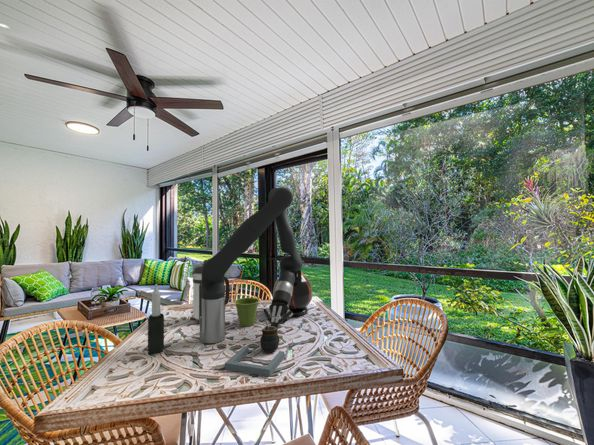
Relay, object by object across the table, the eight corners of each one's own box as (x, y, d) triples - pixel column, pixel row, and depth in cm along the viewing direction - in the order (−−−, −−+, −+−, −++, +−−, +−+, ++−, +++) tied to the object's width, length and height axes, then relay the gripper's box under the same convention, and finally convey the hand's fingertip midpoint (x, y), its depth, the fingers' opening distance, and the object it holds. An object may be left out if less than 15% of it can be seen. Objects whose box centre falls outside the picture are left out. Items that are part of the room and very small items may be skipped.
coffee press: (214, 325, 132) (214, 261, 133) (184, 323, 135) (183, 261, 136) (230, 314, 149) (229, 258, 150) (202, 313, 152) (202, 257, 153)
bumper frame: (224, 369, 91) (224, 362, 91) (244, 352, 103) (244, 346, 103) (269, 376, 86) (269, 369, 86) (284, 357, 99) (284, 351, 99)
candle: (149, 349, 106) (149, 283, 107) (164, 347, 108) (164, 282, 109) (147, 355, 101) (147, 285, 102) (162, 353, 103) (163, 284, 104)
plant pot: (229, 327, 129) (229, 303, 129) (241, 319, 140) (240, 297, 141) (253, 329, 126) (253, 304, 126) (263, 321, 138) (263, 298, 138)
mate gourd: (266, 355, 100) (266, 327, 100) (255, 349, 106) (255, 322, 106) (283, 350, 104) (282, 323, 105) (271, 344, 110) (271, 318, 111)
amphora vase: (267, 309, 157) (267, 259, 158) (302, 305, 166) (301, 257, 167) (281, 321, 137) (281, 264, 138) (320, 315, 146) (319, 261, 147)
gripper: (266, 288, 120) (254, 327, 108) (295, 290, 116) (286, 330, 104) (271, 297, 125) (259, 335, 113) (299, 299, 121) (291, 339, 109)
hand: (272, 333), depth 109 cm, fingers closed
